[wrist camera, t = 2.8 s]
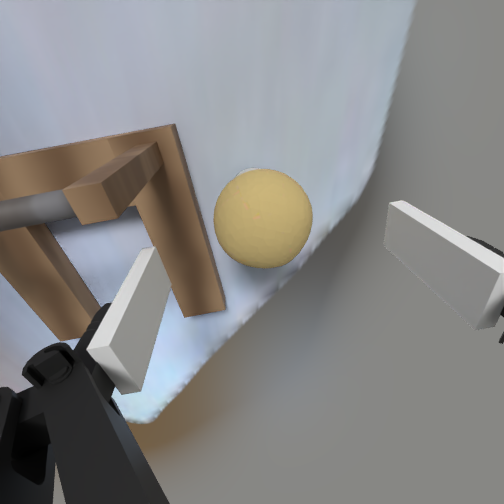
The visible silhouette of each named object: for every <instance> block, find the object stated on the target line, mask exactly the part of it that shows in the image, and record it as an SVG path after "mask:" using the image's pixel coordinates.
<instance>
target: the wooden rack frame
mask: <svg viewBox="0 0 504 504" xmlns="http://www.w3.org/2000/svg"><path fill="white" fill-rule="evenodd" d="M135 205H136V207H137V209H138V212H139V214H140V216H141V219H142V221H143V223H144V225H145V228H146V230H147V232H148V235H149V237H150V239H151V242H152V244H153V246H156V248H157V251H158V253H159V256H160V258H161V260H162V263H163V265H164V268H165V270H166V272H167V275H168V277H169V279H170V282H171V284H172V285H171V288H172V290H173V293H174V295H175V297H176V300H177V302H178V304H179V307H180V309H181V311H182V313H183V316H184V318H185V317H190V316H196V315H201V314H206V313H211V312H216V311H222V310H225V295H224V291H223V288H222V284H221V281H220V278H219V274H218V271H217V267H216V264H215V260H214V257H213V253H212V250H211V246H210V243H209V240H208V236H207V233H206V229H205V226H204V222H203V219H202V215H201V212H200V208H199V205H198V201H197V198H196V195H195V191H194V188H193V184H192V181H191V177H190V174H189V170H188V167H187V163H186V160H185V157H184V153H183V150H182V146H181V143H180V139H179V136H178V132H177V129H176V125H175V124H171V125H165V126H160V127H155V128H149V129H144V130H139V131H133V132H128V133H123V134H118V135H112V136H107V137H102V138H96V139H91V140H86V141H80V142H75V143H70V144H65V145H59V146H54V147H49V148H43V149H38V150H33V151H27V152H22V153H17V154H12V155H6V156H1V157H0V273H1V274H2V275H3V276H4V277H5V278H6V280H7V281H8V282H9V283H10V284H11V285H12V286H13V288H14V289H15V290H16V291H17V292H18V293H19V294H20V296H21V297H22V298H23V299H24V300H25V301H26V303H27V304H28V305H29V306H30V307H31V308H32V309H33V311H34V312H35V313H36V314H37V315H38V316H39V317H40V319H41V320H42V321H43V322H44V323H45V324H46V325H47V327H48V328H49V329H50V330H51V331H52V332H53V333H54V335H55V336H56V337H57V338H58V339H59V340H60V341H65V340H71V339H76V338H81V337H82V335H83V334H84V332H86V329H87V327H88V325H89V324H91V320H92V319H93V317H94V315H95V314H96V312H97V311H98V310H99V309H100V308H101V307H100V306H99V304H98V303H97V301H96V300H95V298H94V297H93V295H92V294H91V292H90V291H89V289H88V288H87V286H86V285H85V283H84V282H83V280H82V279H81V277H80V276H79V274H78V273H77V271H76V270H75V268H74V267H73V265H72V264H71V262H70V261H69V259H68V258H67V256H66V255H65V253H64V252H63V250H62V249H61V247H60V246H59V244H58V243H57V241H56V240H55V238H54V237H53V235H52V234H51V232H50V231H49V229H48V228H47V226H46V225H45V223H48V222H53V221H59V220H64V219H69V218H74V217H78V219H79V221H80V222H81V224H82V225H86V224H91V223H96V222H101V221H107V220H112V219H117V218H119V217H120V215H121V214H122V213H123V212H124V211H125V209H126V208H127V207H129V206H135Z"/></svg>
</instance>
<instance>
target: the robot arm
mask: <svg viewBox="0 0 504 504" xmlns="http://www.w3.org/2000/svg"><path fill="white" fill-rule="evenodd" d="M384 246H385V247H386V248H387V249H388V250H389V251H390V252H391V253H392V254H393V255H394V256H395V257H397V258H398V259H399V260H400V261H401V262H402V263H403V264H404V265H405V266H406V267H407V268H408V269H410V270H411V271H412V272H413V273H414V274H415V275H416V276H417V277H418V278H419V279H420V280H421V281H422V282H424V283H425V284H426V285H427V286H428V287H429V288H430V289H431V290H432V291H433V292H434V293H435V294H437V295H438V296H439V297H440V298H441V299H442V300H443V301H444V302H445V303H446V304H447V305H448V306H449V307H451V308H452V309H453V310H454V311H455V312H456V313H457V314H458V315H459V316H460V317H461V318H462V319H463V320H465V321H466V322H467V323H468V324H469V325H470V326H471V327H472V328H473V329H474V330H479V329H484V328H490V327H494V326H495V325H496V323H497V321H498V319H499V317H500V315H502V316H503V317H504V254H503V252H501V251H500V250H498V249H496V248H494V247H493V246H491V245H489V244H487V243H485V242H484V241H482V240H478V239H476V238H472V237H469V236H464V235H463V234H461V233H459V232H457V231H456V230H454V229H452V228H450V227H449V226H447V225H445V224H443V223H442V222H440V221H438V220H436V219H434V218H433V217H431V216H429V215H427V214H426V213H424V212H422V211H421V210H419V209H417V208H415V207H414V206H412V205H410V204H408V203H407V202H405V201H403V200H402V201H397V202H391V203H389V207H388V215H387V222H386V231H385V238H384ZM171 285H172V284H171V282H170V279H169V277H168V275H167V272H166V270H165V268H164V265H163V263H162V260H161V258H160V256H159V253H158V251H157V248H156V246H154V247H148V248H143V249H142V250H141V251H140V253H139V255H138V257H137V259H136V260H135V262H134V264H133V266H132V268H131V269H130V271H129V273H128V275H127V277H126V279H125V280H124V282H123V284H122V286H121V288H120V289H119V291H118V293H117V295H116V297H115V298H114V300H113V302H112V303H107V304H105V305H104V306H103V307H102V308H100V309H99V310H98V311H97V312H96V314H95V315H94V317H93V319H92V320H91V324H89V325H88V327H87V329H86V332H84V334H83V335H82V337H81V339H80V340H79V342H78V344H77V345H76V347H75V349H74V350H72V349H71V348H70V346H69V345H68V344H66V343H61V342H59V343H55V344H52V345H50V346H48V347H45V348H43V349H42V350H40V351H39V352H38V353H36V354H35V355H34V356H33V357H32V358H31V359H30V360H29V361H28V362H27V363H26V365H25V366H24V368H23V371H22V375H23V376H24V377H25V378H26V379H27V380H28V381H29V382H30V383H31V384H32V385H33V387H31V388H28V389H26V390H24V391H22V392H19V393H17V394H16V393H15V392H14V391H13V390H12V389H10V388H9V387H1V388H0V504H53V491H54V477H55V463H56V465H57V469H58V473H59V477H60V481H61V485H62V489H63V493H64V497H65V502H66V504H169V502H168V500H167V498H166V496H165V494H164V492H163V490H162V488H161V487H160V485H159V483H158V481H157V479H156V477H155V475H154V473H153V472H152V470H151V468H150V466H149V464H148V462H147V460H146V459H145V457H144V455H143V453H142V451H141V449H140V447H139V445H138V444H137V442H136V440H135V438H134V436H133V434H132V432H131V431H130V429H129V427H128V425H127V423H126V421H125V419H124V417H123V415H122V414H121V412H120V410H119V408H118V406H117V404H116V402H115V401H114V399H113V398H112V397H111V396H112V393H113V391H114V388H115V387H116V388H117V389H118V391H119V392H120V393H121V395H123V394H129V393H134V392H140V391H141V390H142V386H143V383H144V379H145V376H146V372H147V369H148V365H149V362H150V358H151V355H152V351H153V348H154V344H155V341H156V337H157V334H158V330H159V327H160V323H161V320H162V316H163V313H164V309H165V306H166V302H167V299H168V295H169V292H170V288H171ZM503 342H504V332H503V334H502V336H501V338H500V340H499V343H502V344H503Z"/></svg>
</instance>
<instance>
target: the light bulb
mask: <svg viewBox="0 0 504 504" xmlns="http://www.w3.org/2000/svg"><path fill="white" fill-rule="evenodd" d="M312 216H313V215H312V207H311V204H310V201H309V199H308V196H307V195H306V193H305V192H304V190H303V189H302V187H301V186H300V185H299V184H298V183H297V182H296V181H295V180H294V179H292V178H291V177H289V176H287V175H286V174H284V173H281V172H279V171H275V170H270V169H259V168H248V169H245V170H242V171H241V172H240V173H238V174H237V175H236V177H235V178H234V179H233V180H232V181H230V182H229V183H228V184H227V185H226V187H225V188H224V189H223V190H222V192H221V194H220V196H219V197H218V199H217V202H216V206H215V210H214V228H215V233H216V236H217V239H218V241H219V244H220V245H221V247H222V248H223V250H224V251H225V252H226V253H227V254H228V255H229V256H230V257H231V258H232V259H234V260H236V261H237V262H239V263H241V264H244V265H246V266H250V267H255V268H274V267H279V266H282V265H285V264H287V263H288V262H290V261H291V260H292V259H293V258H294V257H295V256H296V255H297V254H299V252H300V251H301V249H302V248H303V247H304V245H305V243H306V241H307V240H308V237H309V234H310V231H311V226H312Z"/></svg>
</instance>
